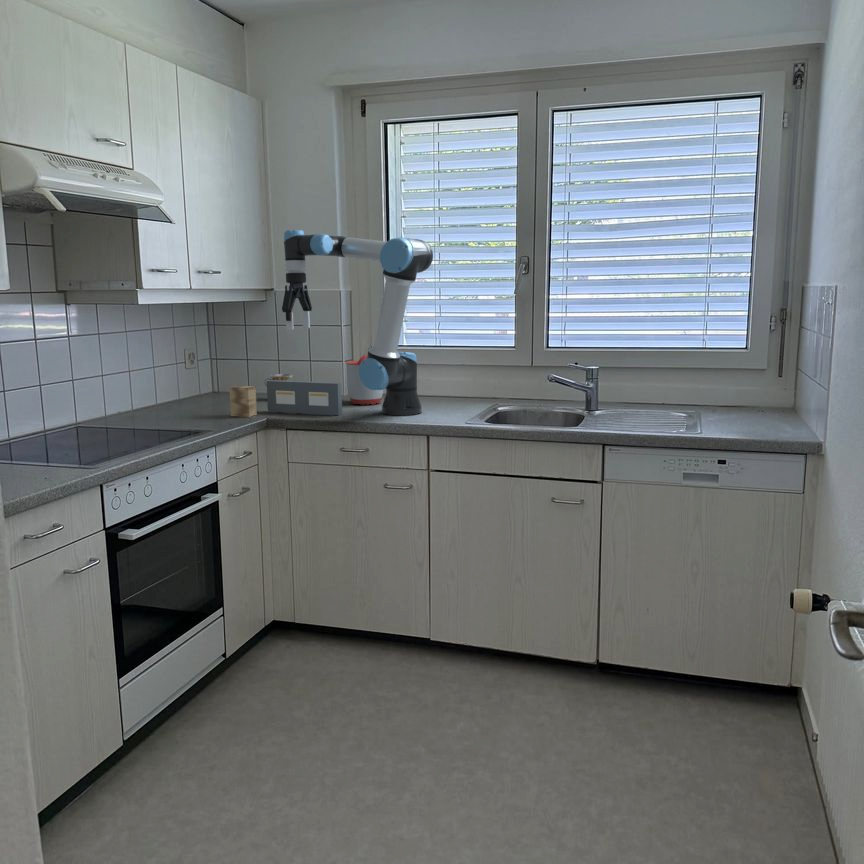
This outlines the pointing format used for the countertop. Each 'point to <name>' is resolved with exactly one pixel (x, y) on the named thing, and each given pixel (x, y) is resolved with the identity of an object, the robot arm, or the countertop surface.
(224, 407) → the countertop surface
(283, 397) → the panel
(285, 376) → the mug
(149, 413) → the countertop surface
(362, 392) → the citrus juicer
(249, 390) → the oak block
